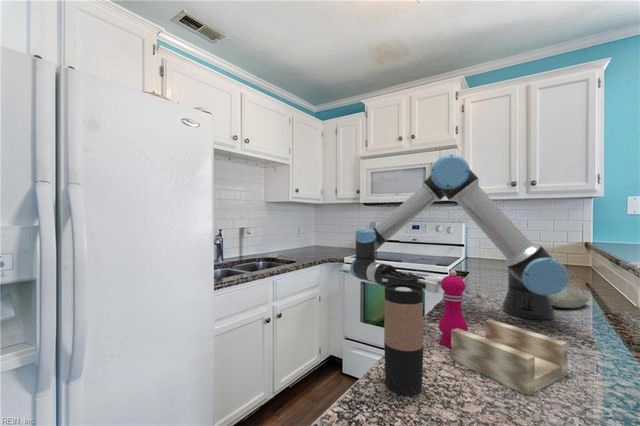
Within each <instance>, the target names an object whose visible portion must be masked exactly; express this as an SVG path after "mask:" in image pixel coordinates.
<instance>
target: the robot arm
mask: <svg viewBox="0 0 640 426" xmlns="http://www.w3.org/2000/svg"><path fill="white" fill-rule="evenodd" d="M479 180H480V179H479V177H478V176H477V175H476V174H475V173H474V172H473V171H472V169H470V166H469V164H468V161H467V160H465V159H464V158H463V157H462V156H460V155H457V154H447V155H443V156H440V157H439V158H438V159H436V161H435V162H434V163H433V164H432V166H431V169H430V175H429V176H428V177H427V178H426V179H425V180H424V181H423V182H422V185H421V187H419V188H418V189H417V190H416V191H415V192H414V193H412V194H411V196H409V197H408V198H407V199H406V200H404V202H402V203H401V204H400V205H399V206H397V208H395V209H394V210H393V211H392V212H391V213H390V214H388V215H387V216H386V217H385V218H384V219H383V220H382V221H380V222H379V223H378V224H377V225H376V226H375V227H374V228H371V229H370V228H369V229H368V228H358V229H356V231H355V238H354V239H355V259H354V260H353V261H352V262H351V263H350V265H349V266H350V268H349V270H350V273H351V275H352V276H353V277H355V278H356V279H359V280H361V281H362V280H363V281H366V282H370V283H374V284H375V285H376V286H378V285H380V286H382V287H385V286H386V285H387V284H393V283H405V284H413V285H417V286H420V287H422V289H423V291H426V292H430V293H433V294H438V293H439V291H440V290H439V289H440V288H439V284H440V283H439V282H434V281H431V280H427V279H426V278H425V277H424V276H420V275H417V274H414V273H412V272H407V273H405V272H402V271H399V270H397V269H396V268H395V266H393V265H391V264H387V263H383V262H382V263H381V262H377V261H376V251H377V250H379V248H381V246H382V245H384V244H385V243H386V242H387V241H388V240H390V239H391V238H392V237H393V236H394V235H396V234H397V233H398V232H399V231H400V230H402V229H403V228H404V227H405V226H406V225H408V224H410V222H411V221H413V220H414V219H415V218H416V217H417V216H419V215H420V214H422V213H423V211H425V210H426V209H427V208H429V207H430V206H431V205H433V203H434V202H435V201H436V202H437V201H441V200H442V199H443V198H447V199H448V201H450V202H456V203H457V204H458V205H459V207H461V209H462V210H463V211H464V212H465V213H466V214H467V216H468V217H469V218H470V219H471V220H472V221H473V222H474V224H476V225H477V226H478V228H480V230H481V231H482V232H483V233H484V234H485V236H487V238H488V239H489V240H490V241H491V242H492V243H493V245H494V246H496V248H497V249H498V250H499V251H500V252H501V254H502V255H503V256H504V257H505V265H506V267H507V276H508V277H507V280H508V281H507V282H508V283H507V284H508V285H507V287H508V289H507V292H506V294H505V295H506V296H505V298H504V301H503V303H502V311H503V312H505V313H506V314H508V315H511V316H514V317H518V318H523V319H527V320H536V321H547V320H548V321H550V320H553V319H555V310H554V308H553V307H552V305H551V302H550V299H549V297H548V296H550V295H555V294H557V293H559V292H561V291H562V290H563V289H564V288H565V289H566V287H567V285H568V282H569V272H568V270H567V268H566V267H565V265H563V262H562V263H561V262H560V261H559V260H558V259H555V258H553V257H552V256H551V255H550V254H549V253H548V251H547V250H546V249H545V248H544V247H543V246H542V245H541V244H540V243H534V242H531V241H530V240H529V239H528V238H527V237H526V236H525V234H524V233H523V232H522V231H521V230H520V229H519V228H518V227H517V226H516V225H515V223H513V221H512V220H511V219H510V218H509V217H508V216H507V215H506V214H505V213H504V212H503V211H502V209H500V207H499V206H498V205H497V204H496V203H495V202H494V201H493V200H492V199H491V197H490V196H489V195H488V194H487V193H486V192H485V190H483V189H482V187H480V186H479V184H480V183H479Z"/></svg>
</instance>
